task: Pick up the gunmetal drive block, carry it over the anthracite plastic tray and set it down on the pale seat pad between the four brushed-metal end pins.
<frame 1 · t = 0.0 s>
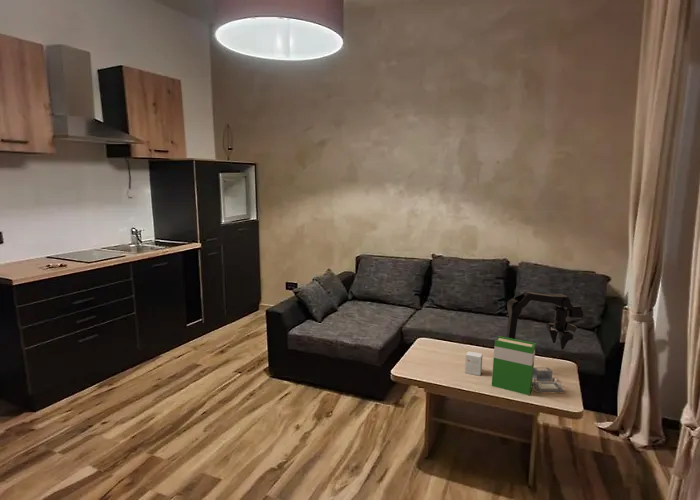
hand: (558, 346, 233), 15 cm above the table, fingers open, 9 cm apart
small box: (473, 373, 233), on the table
tray: (547, 388, 217), on the table
hardback book: (511, 388, 217), on the table
drive: (542, 379, 226), on the table
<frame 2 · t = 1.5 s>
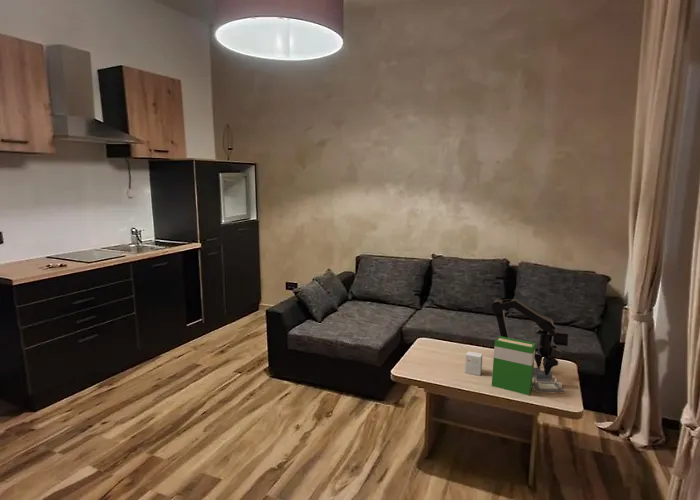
hand: (542, 371, 226), 4 cm above the table, fingers open, 9 cm apart
nothing on the table moved.
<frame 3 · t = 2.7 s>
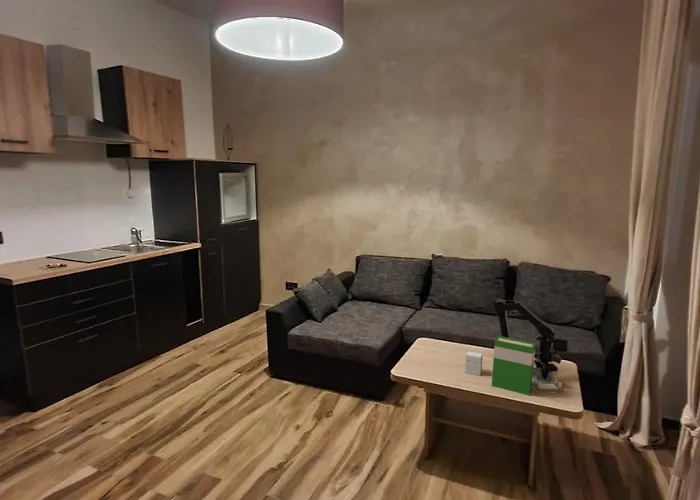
hand: (542, 377, 226), 1 cm above the table, fingers closed on drive, 4 cm apart
drive: (542, 379, 226), on the table, touching gripper
everything else where it was.
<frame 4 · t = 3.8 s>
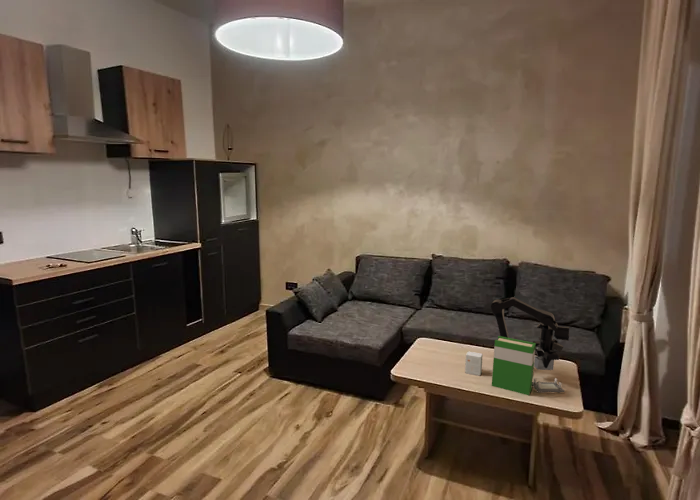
hand: (543, 365, 225), 7 cm above the table, fingers closed on drive, 4 cm apart
drive: (543, 367, 225), point 6 cm above the table, touching gripper
everything else where it was.
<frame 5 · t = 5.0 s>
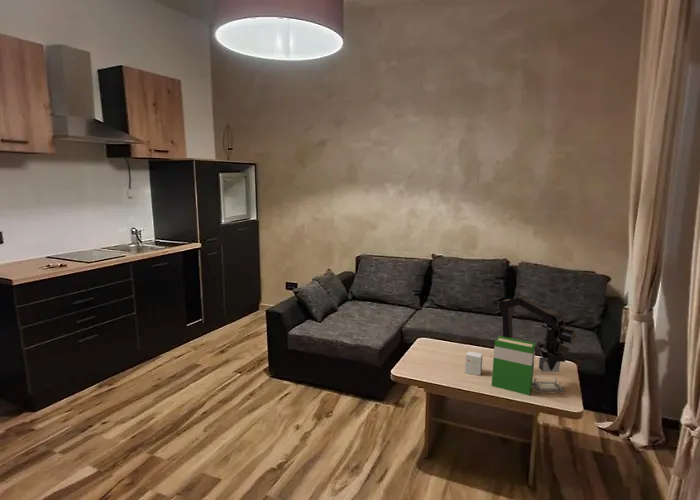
hand: (548, 367, 215), 11 cm above the table, fingers closed on drive, 4 cm apart
drive: (548, 369, 215), point 10 cm above the table, touching gripper
everything else where it was.
when the fingers open (3 cm above the table, at t = 7.0 s): drive drops 1 cm, resting on tray.
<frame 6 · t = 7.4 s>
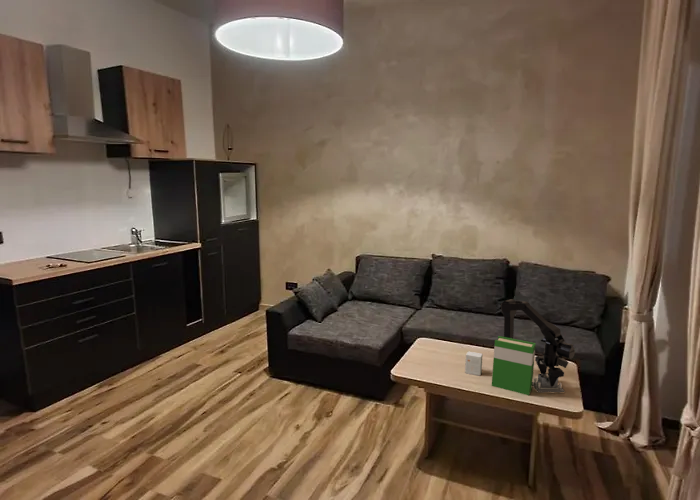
hand: (547, 381, 216), 3 cm above the table, fingers open, 9 cm apart
drive: (547, 386, 216), point 1 cm above the table, touching tray
everything else where it was.
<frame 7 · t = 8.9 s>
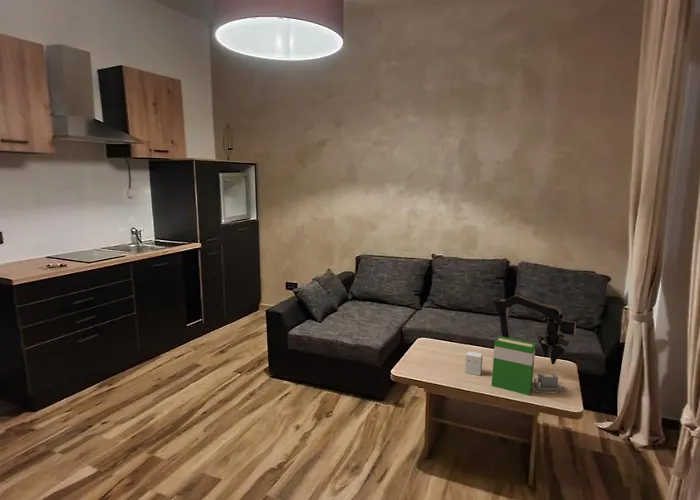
hand: (549, 360, 221), 12 cm above the table, fingers open, 9 cm apart
nothing on the table moved.
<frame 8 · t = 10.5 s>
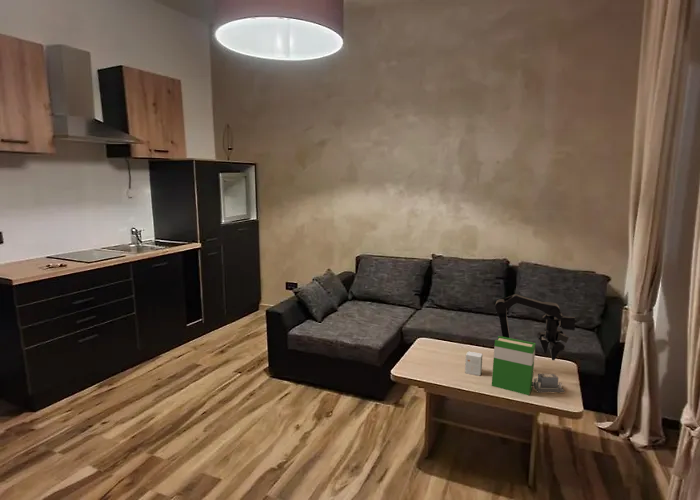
hand: (549, 356, 226), 12 cm above the table, fingers open, 9 cm apart
nothing on the table moved.
at the end: drive 0.0 cm off-centre on the tray, point 1.1 cm above the tray's base; drive tilted 0°; the gripper is holding nothing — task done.
